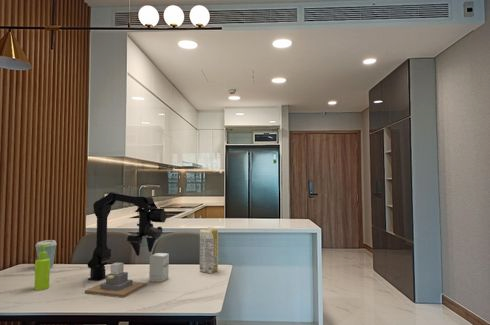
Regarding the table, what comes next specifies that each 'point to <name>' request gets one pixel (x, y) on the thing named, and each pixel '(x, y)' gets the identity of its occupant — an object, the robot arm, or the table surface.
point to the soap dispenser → (42, 269)
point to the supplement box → (159, 267)
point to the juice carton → (208, 250)
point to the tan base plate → (116, 286)
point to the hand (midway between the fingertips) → (144, 253)
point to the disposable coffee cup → (48, 250)
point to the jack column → (117, 268)
